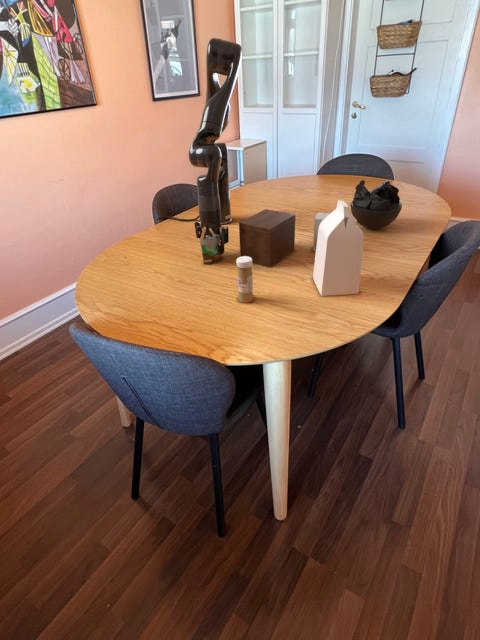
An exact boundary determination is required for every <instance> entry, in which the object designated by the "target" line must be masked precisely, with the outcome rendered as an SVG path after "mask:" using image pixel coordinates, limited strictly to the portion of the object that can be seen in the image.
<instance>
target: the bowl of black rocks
mask: <svg viewBox="0 0 480 640" xmlns="http://www.w3.org/2000/svg"><path fill="white" fill-rule="evenodd" d="M365 184H366V180H364V179H361V180H360V181H359V183H358V184H357V185H356V186H355V187H354V189H355V191H354V195H353V199H352V201H351V202H350V211H351V214H352V215H353V216H354V217H355V219H356V220H357V222H356V223H357V224H358V225H360V226H362V227H363V228H366V229H369V230H370V229H371V230H378V229H383V228H385V227H387V226H389V225H391V224H392V223H393V222H394V221H395V220H396V219H397V218H398V216H399V215H400V213H401V211H402V208H403V204H402V203H401V202H400V200H401V197H400V196H399V193H400V189H399V188H398V187H397V186H394V185H393V184H391V181H390V180H388V179H386V180H385V181H384V182H382V183H381V184H380V185H378V186H377V187H375V188H373V189H372V190H369V189H368V188H367V187H366V186H365Z"/></svg>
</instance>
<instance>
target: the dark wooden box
mask: <svg viewBox="0 0 480 640" xmlns="http://www.w3.org/2000/svg"><path fill="white" fill-rule="evenodd" d="M238 233H239V253H240V256H239V257H242V256H248V257H251V258H252V264H257V265H260V266H262V267H263V266H264V267H268V268H272V267H273V266H275V265H276V264H277V263H279V262H280V261H282V260H284V258H286V257H288V256H289V255H290V254H292V253H293V252H294V251H295V245H296V243H295V242H296V241H295V240H296V214H294V213H290V212H285V211H278V210H272V209H268V208H267V209H263V210H260V211H258V212H257V213H255V214H253V215H251V216H249V217H246V219H244V220H241V221H240V222H238Z"/></svg>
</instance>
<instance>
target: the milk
mask: <svg viewBox="0 0 480 640" xmlns="http://www.w3.org/2000/svg"><path fill="white" fill-rule="evenodd" d="M330 213H331V214H330V215H328V216H327V217H326V218H325V219H324V220H323V221H322V222H321V223H320V225H319V230H318V238H317V246H316V251H315V255H314V263H313V273H312V280H313V282H314V283H315V286H316V288H317V290H318V292H319V295H320V296H321V297H325V296H340V295H341V296H342V295H343V296H344V295H353V294H354V295H355V294H357V295H358V294H360V285H361V273H362V264H363V263H362V262H363V253H364V241H365V239H364V238H365V235H364V231H363V230H362V229H361V228H360V227H359V226H358V225H357V224H356V223H358V222H357V220H356V219H355V217H354V216H353V215H352V213H350V207H349V205H348V204H347V203H346V202H345V201H344V200H342V199H341V200H337V204H336V208H335V209H334V210H333V211H332V212H330Z"/></svg>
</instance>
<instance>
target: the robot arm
mask: <svg viewBox="0 0 480 640" xmlns="http://www.w3.org/2000/svg"><path fill="white" fill-rule="evenodd" d="M242 59H243V47H242V45H241V44H239V43H237V42H234V41H229V40H226V39H223V38H218V37H211V38H210V40H209V41H208V43H207V47H206V55H205V74H206V75H205V76H206V77H205V78H206V89H205V90H206V93H205V103H204V108H203V111H202V115H201V119H200V123H199V127H198V130H197V132H196V134H195V136H194V138H193V140H192V142H191V144H190V146H189V149H188V160H189V163H190V165H192V166H193V167H195V168H205V169H207V172H206V173H204V174H200V175H198V176H197V177H196V188H197V206H198V207H197V208H198V215H197V216H196V217H194V218H189V219H188V218H178V217H176V216H175V217H174V216H169V215H160V216H158V217H157V219H156V220H157V221H159V220H160V219H163V218H164V219H165V218H166V219H171V220H175V221H180V222H194V221H195V222H194V230H195V236H196V237H195V238H196V239H199V240H200V239H203V238H204V236H205V234H207V235H210V236H213V237H216V239H217V240H218V242H217V243H218V253H219V254H220V256H222V255H223V254H224V253H225V245H226V244H227V243H229V242H230V241H229V239H230V238H229V237H230V236H229V232H230V231H229V226H228V225H227V224H229V223H231V222H232V208H231V207H232V206H231V189H230V173H229V172H230V171H229V168H230V167H229V166H230V165H229V148H228V146H227V144H226V143H225V142H216V141H218V140H219V139H220V138H221V135H222V134H223V133H224V131H225V130H226V129H227V127H228V125H229V123H230V115H231V103H230V100H231V98H232V95H233V91H234V89H235V86H236V83H237V81H238V80H237V79H238V76H239V73H240V71H241V67H242ZM219 75H220V76H225V77H226V78H225V80H224V82H223V84H221V83H220V80H219ZM198 219H199V220H198ZM222 225H227V226H222ZM218 234H220V235H219V236H216V235H218ZM219 238H221V240H220V239H219Z"/></svg>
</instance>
